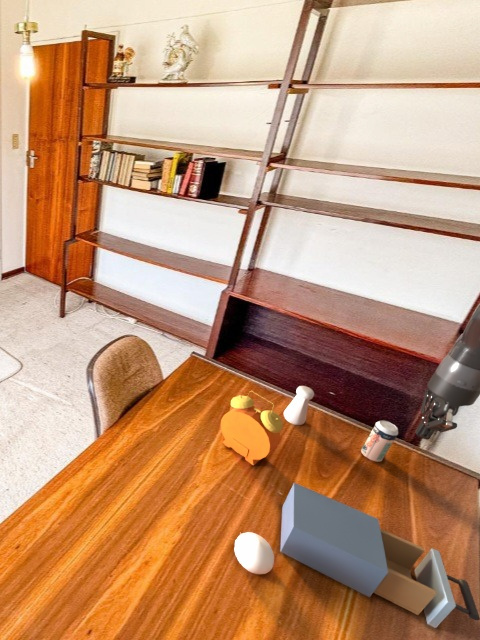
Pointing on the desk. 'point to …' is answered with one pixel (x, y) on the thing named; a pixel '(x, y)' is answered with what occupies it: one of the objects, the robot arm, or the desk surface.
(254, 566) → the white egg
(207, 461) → the desk surface
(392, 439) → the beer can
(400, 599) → the drawer
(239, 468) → the desk surface
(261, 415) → the alarm clock
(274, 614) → the desk surface
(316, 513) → the cabinet
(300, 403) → the salt shaker
